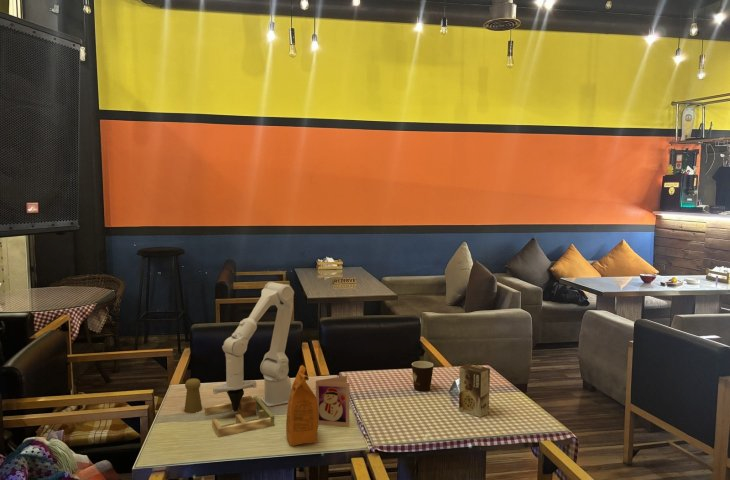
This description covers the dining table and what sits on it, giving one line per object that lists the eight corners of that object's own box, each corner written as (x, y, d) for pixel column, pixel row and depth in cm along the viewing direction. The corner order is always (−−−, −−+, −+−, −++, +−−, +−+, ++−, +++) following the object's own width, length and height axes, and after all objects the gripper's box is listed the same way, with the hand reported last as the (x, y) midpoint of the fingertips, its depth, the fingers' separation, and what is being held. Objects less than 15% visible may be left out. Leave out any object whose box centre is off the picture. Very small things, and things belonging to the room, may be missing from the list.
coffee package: (316, 428, 176) (316, 363, 174) (319, 446, 164) (319, 376, 162) (286, 430, 174) (286, 364, 172) (286, 448, 162) (286, 377, 160)
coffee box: (489, 412, 190) (491, 368, 189) (480, 418, 185) (481, 372, 184) (467, 405, 196) (468, 362, 195) (457, 410, 192) (459, 366, 190)
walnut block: (250, 409, 190) (250, 395, 190) (256, 415, 185) (256, 401, 185) (236, 411, 188) (236, 398, 188) (241, 418, 183) (241, 404, 182)
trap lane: (256, 404, 195) (256, 396, 194) (274, 425, 178) (274, 416, 177) (204, 414, 186) (204, 405, 186) (218, 436, 169) (218, 427, 168)
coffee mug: (434, 393, 208) (434, 368, 207) (412, 392, 208) (412, 367, 207) (430, 382, 220) (431, 358, 219) (409, 382, 220) (410, 358, 219)
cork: (196, 414, 186) (196, 383, 185) (180, 412, 187) (180, 381, 186) (205, 407, 192) (204, 377, 191) (189, 405, 193) (189, 376, 192)
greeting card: (314, 425, 178) (315, 381, 177) (319, 416, 185) (320, 374, 184) (348, 427, 176) (349, 383, 175) (352, 418, 184) (352, 376, 182)
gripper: (252, 365, 190) (252, 402, 192) (210, 371, 183) (211, 410, 185) (258, 371, 184) (258, 409, 185) (215, 378, 177) (216, 417, 178)
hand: (235, 410), depth 185 cm, fingers closed
